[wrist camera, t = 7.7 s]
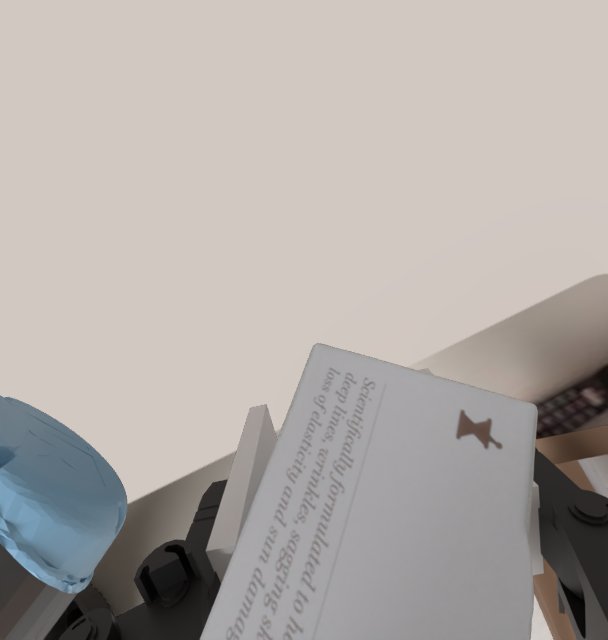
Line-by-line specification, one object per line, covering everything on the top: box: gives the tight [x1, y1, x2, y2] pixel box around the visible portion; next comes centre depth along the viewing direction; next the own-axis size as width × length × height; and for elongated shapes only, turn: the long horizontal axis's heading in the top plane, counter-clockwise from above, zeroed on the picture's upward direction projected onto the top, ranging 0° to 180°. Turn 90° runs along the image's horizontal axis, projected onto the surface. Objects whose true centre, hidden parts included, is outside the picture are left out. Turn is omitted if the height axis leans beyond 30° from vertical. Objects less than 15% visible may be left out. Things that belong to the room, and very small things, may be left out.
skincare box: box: [200, 343, 538, 640], centre depth 10 cm, size 6×4×12 cm
